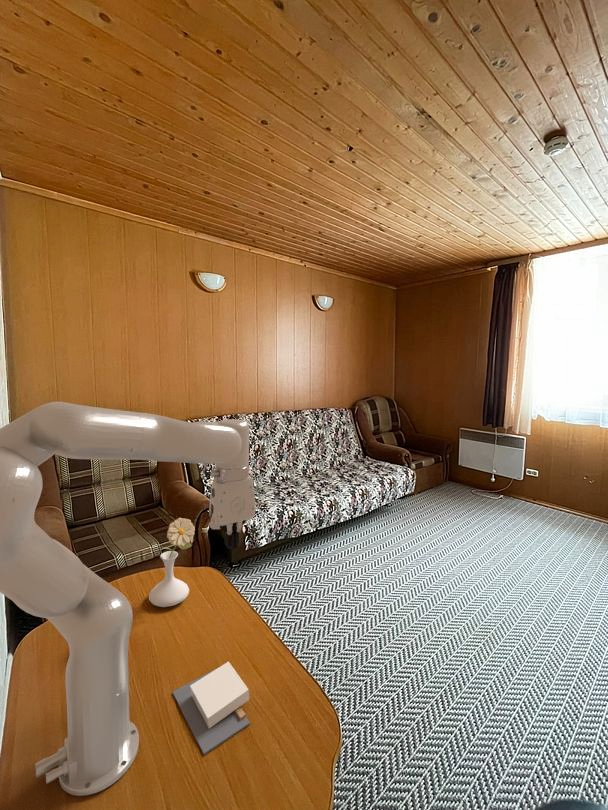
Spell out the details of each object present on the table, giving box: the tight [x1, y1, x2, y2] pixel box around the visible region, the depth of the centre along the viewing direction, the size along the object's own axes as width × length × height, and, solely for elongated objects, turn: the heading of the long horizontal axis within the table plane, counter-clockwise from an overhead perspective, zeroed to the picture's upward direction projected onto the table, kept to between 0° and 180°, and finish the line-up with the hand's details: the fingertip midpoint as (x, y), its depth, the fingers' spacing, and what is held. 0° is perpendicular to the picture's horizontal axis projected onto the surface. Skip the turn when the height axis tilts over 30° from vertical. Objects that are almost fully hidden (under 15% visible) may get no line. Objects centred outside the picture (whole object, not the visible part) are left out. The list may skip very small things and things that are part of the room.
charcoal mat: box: [172, 669, 251, 756], centre depth 76 cm, size 10×16×1 cm, turn 39°
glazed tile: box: [190, 661, 251, 728], centre depth 77 cm, size 3×9×9 cm
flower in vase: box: [148, 517, 196, 608], centre depth 110 cm, size 13×11×25 cm
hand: (231, 547), depth 88 cm, fingers closed
